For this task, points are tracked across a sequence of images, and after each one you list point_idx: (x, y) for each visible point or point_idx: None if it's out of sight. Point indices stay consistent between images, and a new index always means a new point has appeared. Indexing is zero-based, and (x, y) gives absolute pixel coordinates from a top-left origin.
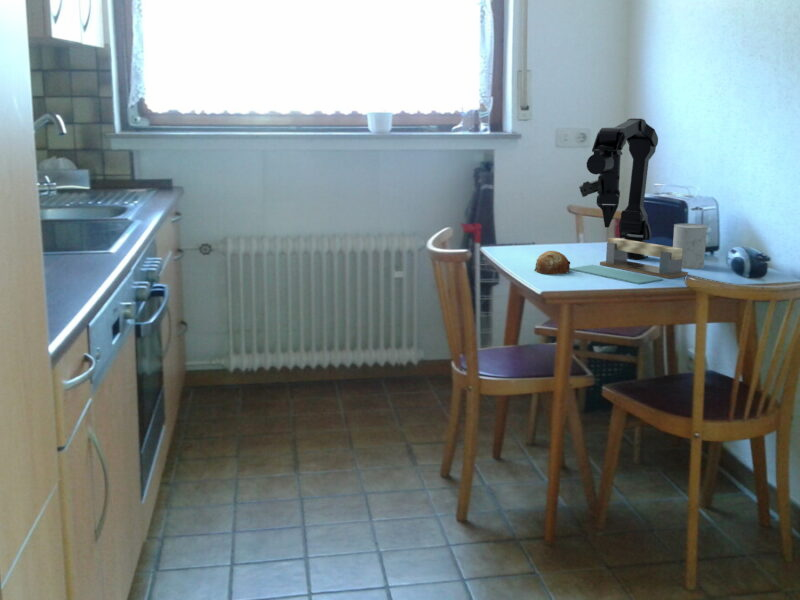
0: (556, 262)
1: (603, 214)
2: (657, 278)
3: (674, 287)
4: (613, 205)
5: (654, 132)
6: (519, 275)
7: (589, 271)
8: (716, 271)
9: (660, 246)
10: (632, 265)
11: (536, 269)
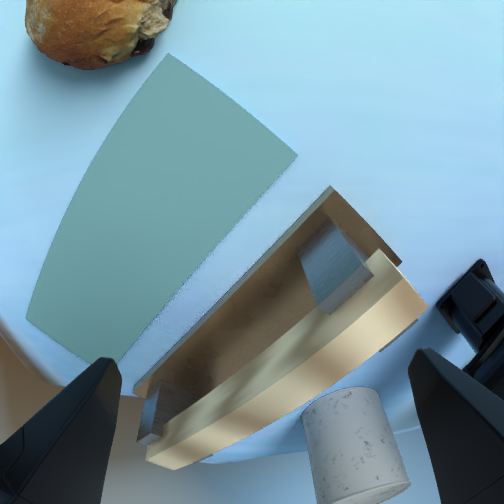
0: (26, 29)
1: (6, 444)
2: None
3: (49, 376)
4: None
5: None
6: None
7: (113, 154)
8: (277, 444)
9: (188, 446)
10: (268, 316)
11: None
